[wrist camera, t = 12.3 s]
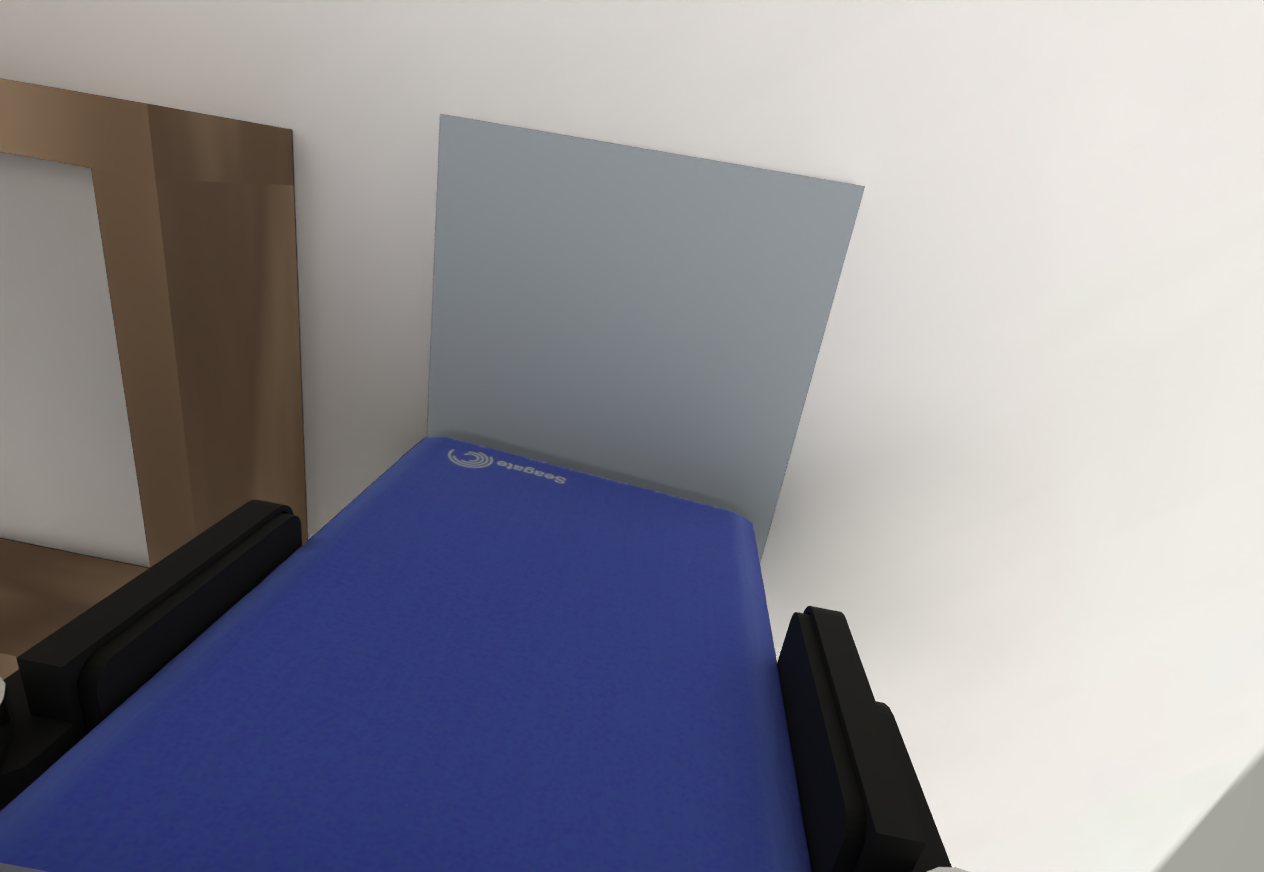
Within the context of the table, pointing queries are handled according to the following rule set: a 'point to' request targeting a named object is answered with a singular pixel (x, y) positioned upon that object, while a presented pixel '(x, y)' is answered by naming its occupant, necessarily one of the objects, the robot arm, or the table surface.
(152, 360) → the wooden square frame
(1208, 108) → the table surface
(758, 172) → the mat
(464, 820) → the hard drive
